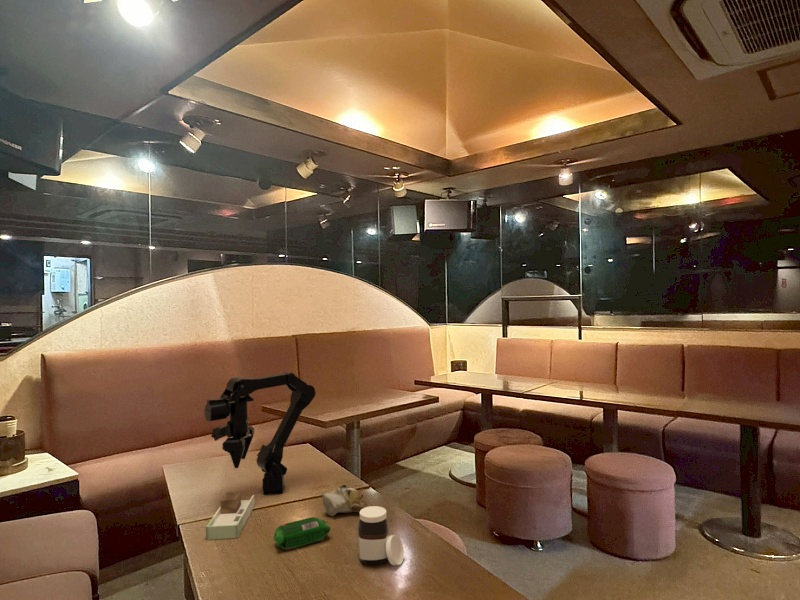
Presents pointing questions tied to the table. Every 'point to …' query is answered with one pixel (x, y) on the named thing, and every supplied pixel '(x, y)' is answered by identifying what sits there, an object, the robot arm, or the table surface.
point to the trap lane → (229, 522)
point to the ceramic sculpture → (343, 501)
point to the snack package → (300, 533)
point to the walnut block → (230, 503)
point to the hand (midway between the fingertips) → (239, 463)
